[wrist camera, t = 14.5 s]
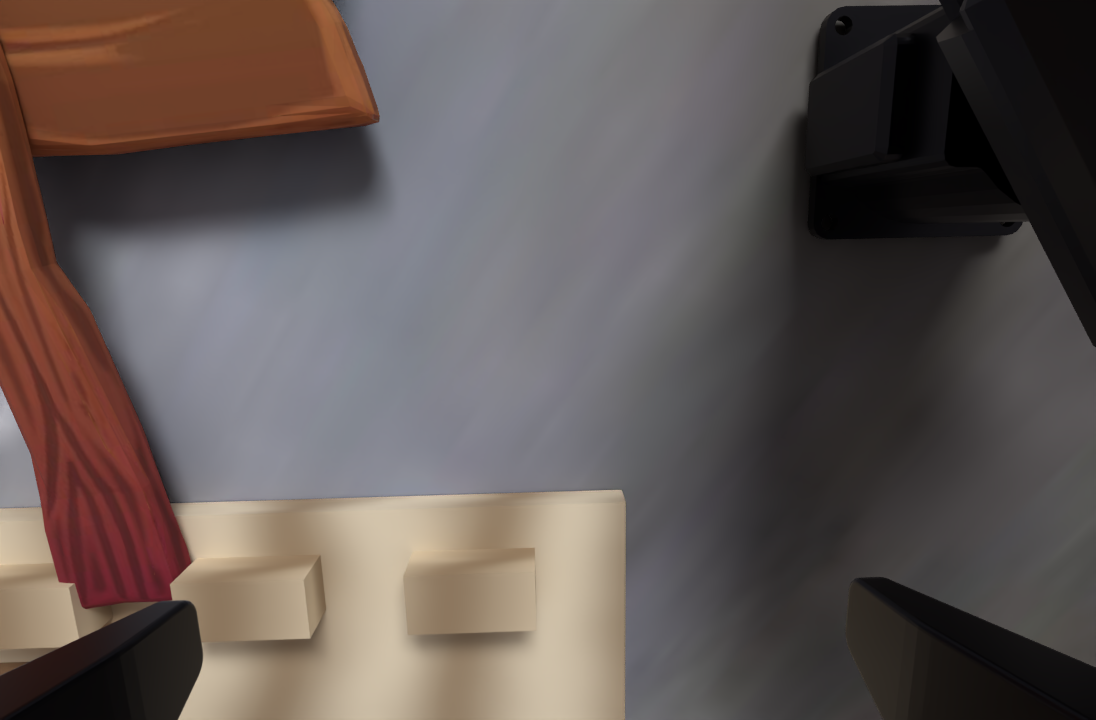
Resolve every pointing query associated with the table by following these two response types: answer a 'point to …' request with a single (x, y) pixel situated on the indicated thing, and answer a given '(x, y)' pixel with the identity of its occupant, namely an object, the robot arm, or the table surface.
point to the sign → (43, 288)
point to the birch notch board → (372, 605)
